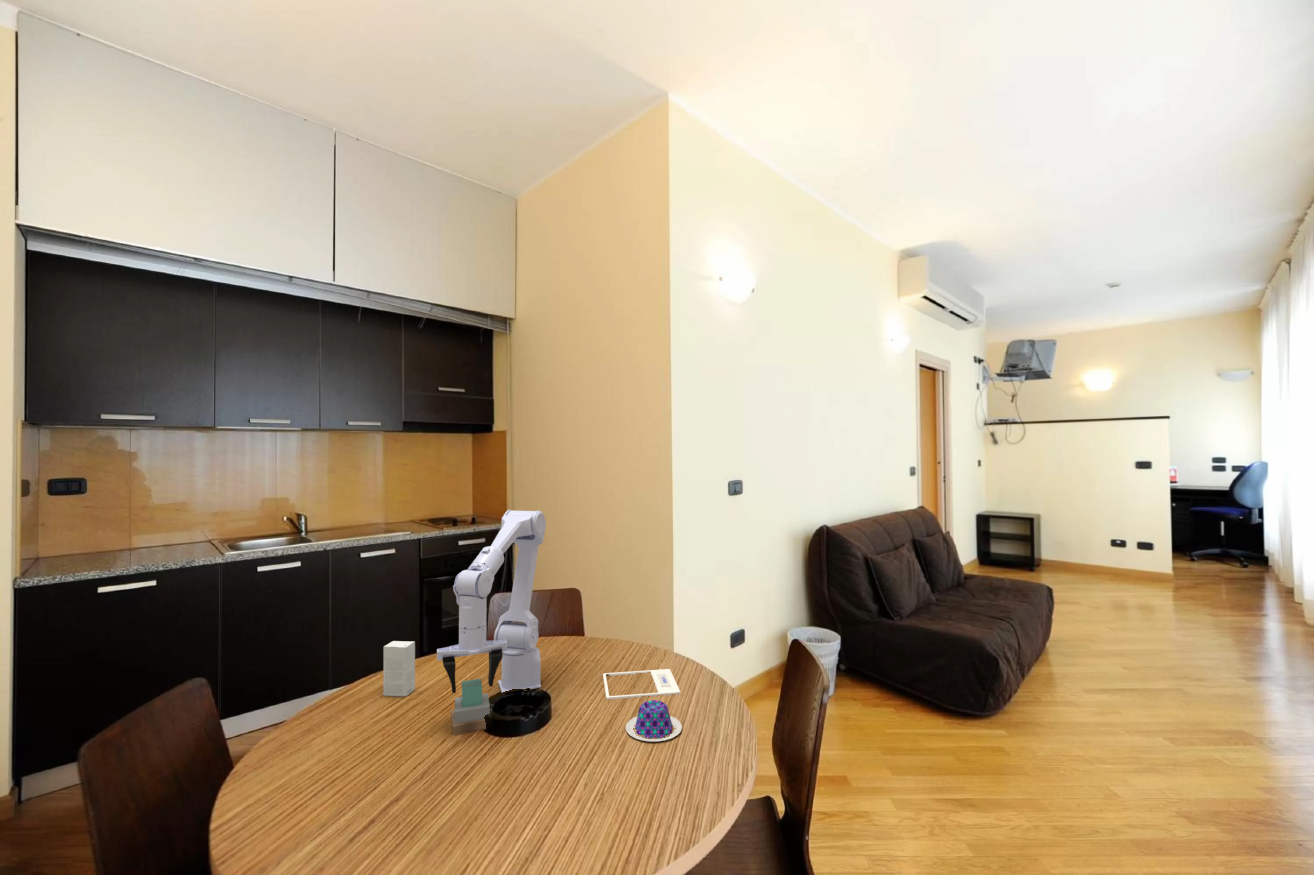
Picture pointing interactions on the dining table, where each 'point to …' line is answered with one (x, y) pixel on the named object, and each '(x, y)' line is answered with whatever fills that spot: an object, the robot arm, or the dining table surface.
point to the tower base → (466, 725)
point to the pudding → (653, 722)
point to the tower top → (471, 710)
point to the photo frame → (661, 679)
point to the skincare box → (399, 668)
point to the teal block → (471, 692)
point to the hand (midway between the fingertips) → (472, 687)
